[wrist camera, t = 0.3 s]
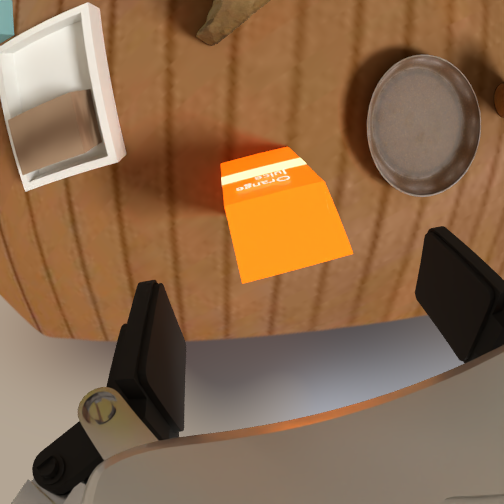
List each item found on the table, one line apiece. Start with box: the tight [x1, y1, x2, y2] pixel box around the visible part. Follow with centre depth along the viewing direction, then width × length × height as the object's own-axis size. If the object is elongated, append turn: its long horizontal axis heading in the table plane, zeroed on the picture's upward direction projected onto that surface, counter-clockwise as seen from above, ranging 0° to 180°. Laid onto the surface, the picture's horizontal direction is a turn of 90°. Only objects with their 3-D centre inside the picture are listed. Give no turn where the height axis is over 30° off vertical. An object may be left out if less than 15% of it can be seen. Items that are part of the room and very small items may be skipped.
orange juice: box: [220, 147, 353, 284], centre depth 32 cm, size 8×9×20 cm
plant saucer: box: [367, 55, 481, 197], centre depth 37 cm, size 21×21×3 cm
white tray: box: [0, 3, 127, 191], centre depth 29 cm, size 20×14×4 cm
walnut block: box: [8, 89, 102, 175], centre depth 30 cm, size 7×9×6 cm
